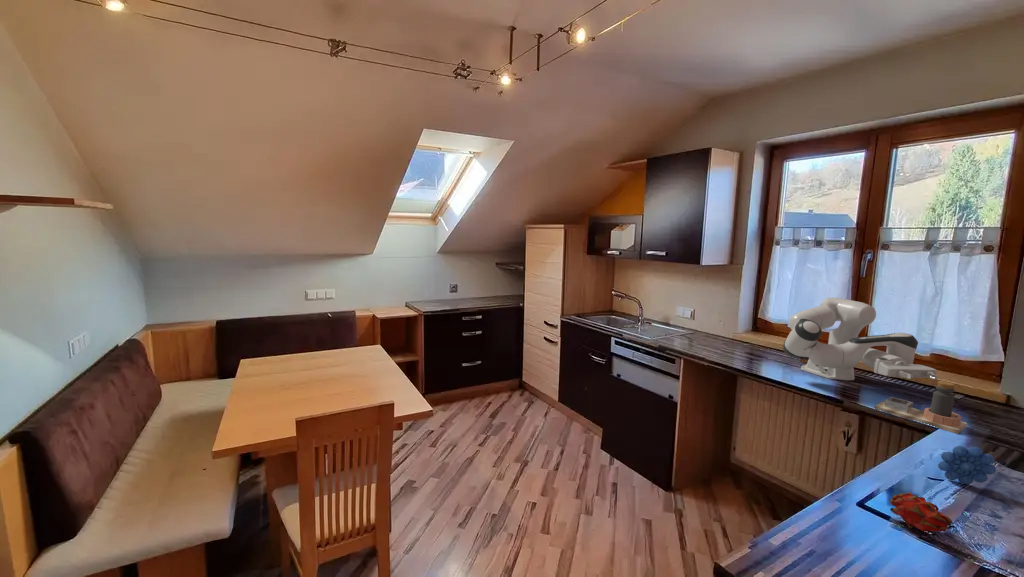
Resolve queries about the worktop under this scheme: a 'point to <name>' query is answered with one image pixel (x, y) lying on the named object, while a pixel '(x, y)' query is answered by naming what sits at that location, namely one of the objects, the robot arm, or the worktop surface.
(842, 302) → the robot arm
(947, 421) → the round holder
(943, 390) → the bottle
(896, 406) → the square holder
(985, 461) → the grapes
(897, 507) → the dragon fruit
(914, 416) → the wooden board
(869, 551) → the worktop surface
